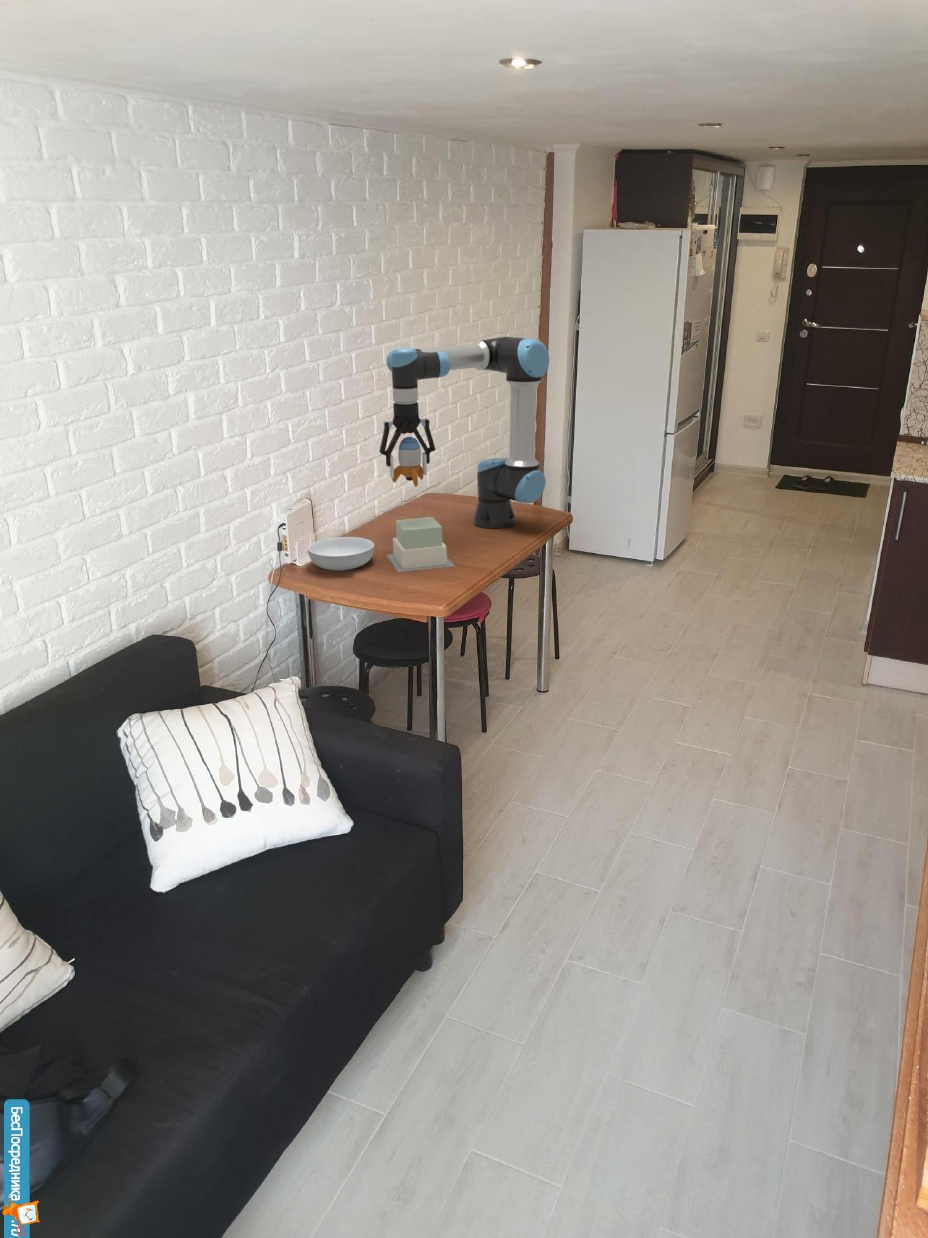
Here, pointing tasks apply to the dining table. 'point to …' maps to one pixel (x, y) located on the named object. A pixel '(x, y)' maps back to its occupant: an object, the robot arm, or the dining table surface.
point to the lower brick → (419, 556)
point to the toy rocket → (409, 461)
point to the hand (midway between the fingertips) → (408, 475)
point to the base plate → (399, 568)
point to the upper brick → (419, 533)
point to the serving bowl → (341, 553)
